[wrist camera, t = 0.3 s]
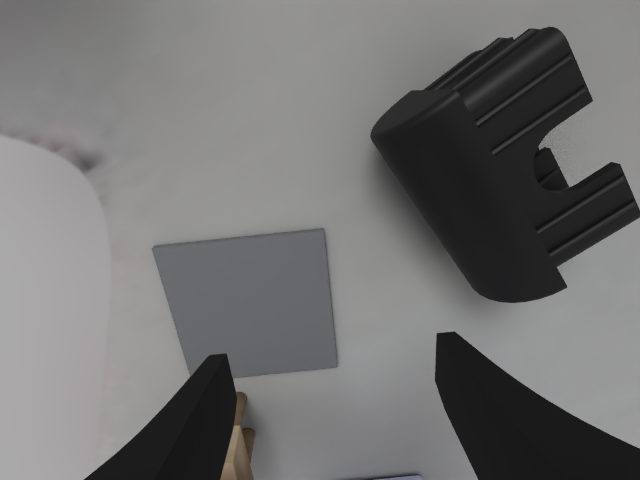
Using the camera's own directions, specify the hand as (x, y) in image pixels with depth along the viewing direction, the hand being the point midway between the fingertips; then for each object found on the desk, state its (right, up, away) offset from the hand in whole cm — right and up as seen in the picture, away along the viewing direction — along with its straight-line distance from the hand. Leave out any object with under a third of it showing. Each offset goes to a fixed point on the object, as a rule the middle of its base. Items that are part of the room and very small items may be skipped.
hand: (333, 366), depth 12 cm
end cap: (+7, +9, +8) cm, 14 cm away
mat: (-5, 0, +11) cm, 12 cm away
